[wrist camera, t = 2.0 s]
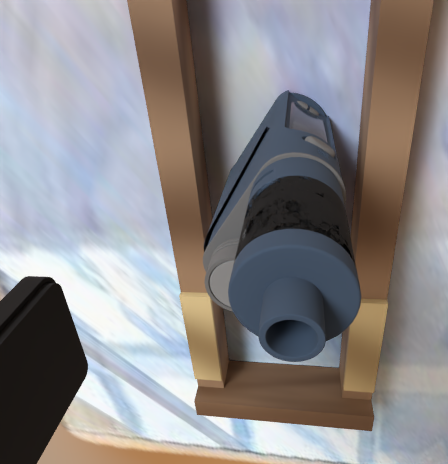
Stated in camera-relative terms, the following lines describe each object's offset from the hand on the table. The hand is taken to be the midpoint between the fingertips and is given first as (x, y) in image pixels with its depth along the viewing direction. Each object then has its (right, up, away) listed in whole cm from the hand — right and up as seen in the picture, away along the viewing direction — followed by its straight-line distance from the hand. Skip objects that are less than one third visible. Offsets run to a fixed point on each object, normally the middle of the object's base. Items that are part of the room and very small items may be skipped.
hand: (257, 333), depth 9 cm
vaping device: (+2, +6, +8) cm, 10 cm away
